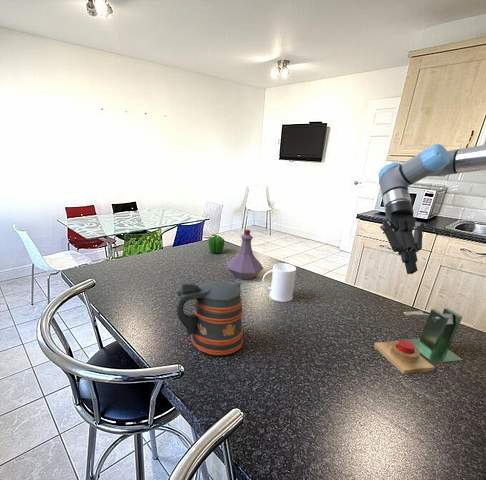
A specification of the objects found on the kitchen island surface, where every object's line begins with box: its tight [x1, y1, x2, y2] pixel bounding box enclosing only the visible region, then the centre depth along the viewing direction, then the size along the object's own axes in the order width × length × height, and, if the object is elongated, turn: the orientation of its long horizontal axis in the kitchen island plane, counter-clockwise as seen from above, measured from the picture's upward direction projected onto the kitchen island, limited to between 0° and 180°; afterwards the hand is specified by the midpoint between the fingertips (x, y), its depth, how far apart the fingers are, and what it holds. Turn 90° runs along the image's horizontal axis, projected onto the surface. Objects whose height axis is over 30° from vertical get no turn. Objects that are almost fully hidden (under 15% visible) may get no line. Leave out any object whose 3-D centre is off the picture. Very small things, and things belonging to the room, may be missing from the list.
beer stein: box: [176, 280, 244, 357], centre depth 79 cm, size 19×15×20 cm
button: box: [397, 339, 415, 354], centre depth 76 cm, size 4×4×2 cm
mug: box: [261, 262, 297, 303], centre depth 107 cm, size 12×8×12 cm
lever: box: [401, 310, 453, 324], centre depth 81 cm, size 12×6×2 cm, turn 9°
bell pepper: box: [207, 233, 225, 254], centre depth 152 cm, size 8×8×10 cm
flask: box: [226, 229, 265, 280], centre depth 123 cm, size 16×16×20 cm
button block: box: [373, 340, 436, 375], centre depth 77 cm, size 8×11×4 cm
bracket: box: [404, 307, 464, 364], centre depth 78 cm, size 10×9×13 cm
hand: (412, 272), depth 87 cm, fingers closed
